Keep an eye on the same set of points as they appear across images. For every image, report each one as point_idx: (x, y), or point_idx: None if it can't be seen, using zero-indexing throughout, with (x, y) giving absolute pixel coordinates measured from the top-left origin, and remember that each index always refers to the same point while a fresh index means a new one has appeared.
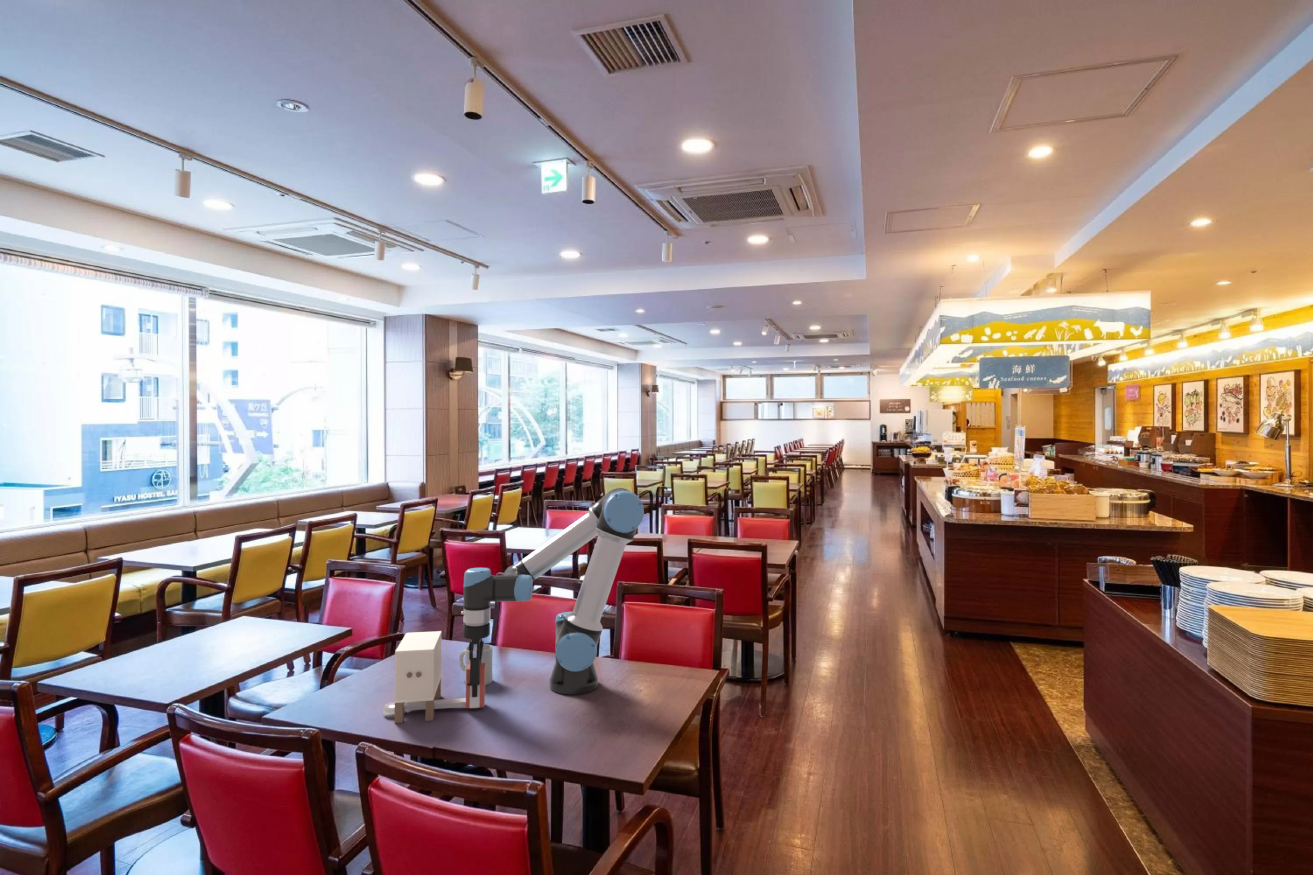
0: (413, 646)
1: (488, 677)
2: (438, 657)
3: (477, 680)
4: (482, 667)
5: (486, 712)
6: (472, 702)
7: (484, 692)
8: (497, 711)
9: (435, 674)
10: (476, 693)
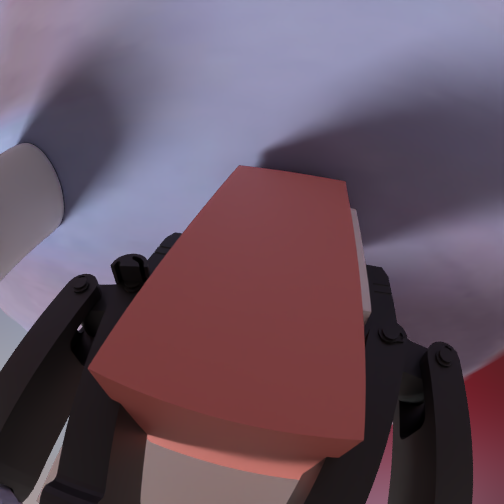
0: None
1: (23, 163)
2: (153, 488)
3: (457, 388)
4: (299, 442)
5: (379, 165)
6: None
7: (286, 202)
8: (387, 105)
9: (277, 482)
10: (387, 288)
